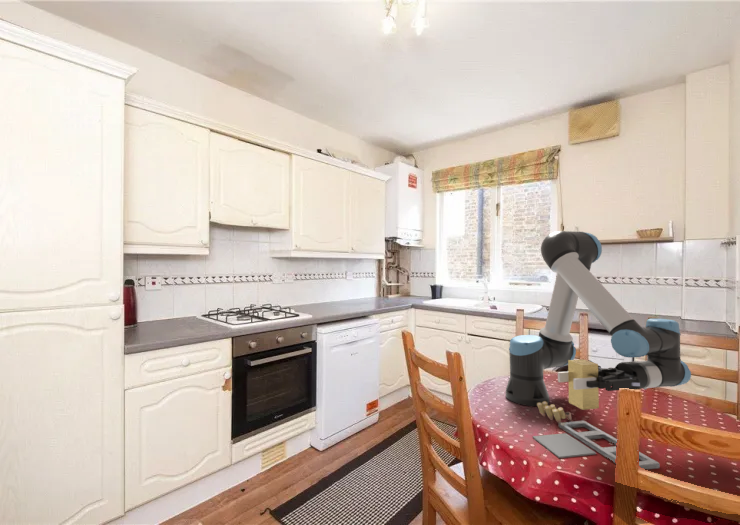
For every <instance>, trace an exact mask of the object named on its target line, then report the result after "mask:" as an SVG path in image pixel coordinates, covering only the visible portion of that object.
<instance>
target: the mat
mask: <svg viewBox="0 0 740 525" xmlns="http://www.w3.org/2000/svg"><path fill="white" fill-rule="evenodd" d="M532 438H533V439H534V440H535V441H536V442H538V443H539V444H540V445H542V446H543V447H544V448H545V449H547V450H548V451H549V452H551V454H552V455H555V456H556V457H557V458H558V459H564V458H565V459H566V458H574V457H584V456H593V455H597V451H595V450H594V449H592V448H591V447H589V446H588V445H586V444H585V443H583V442H581V441H580V440H578V439H577V438H575V437H574V436H572V435H571V434H569V433H567V432H563V433H555V434H544V435H533V436H532Z"/></svg>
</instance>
